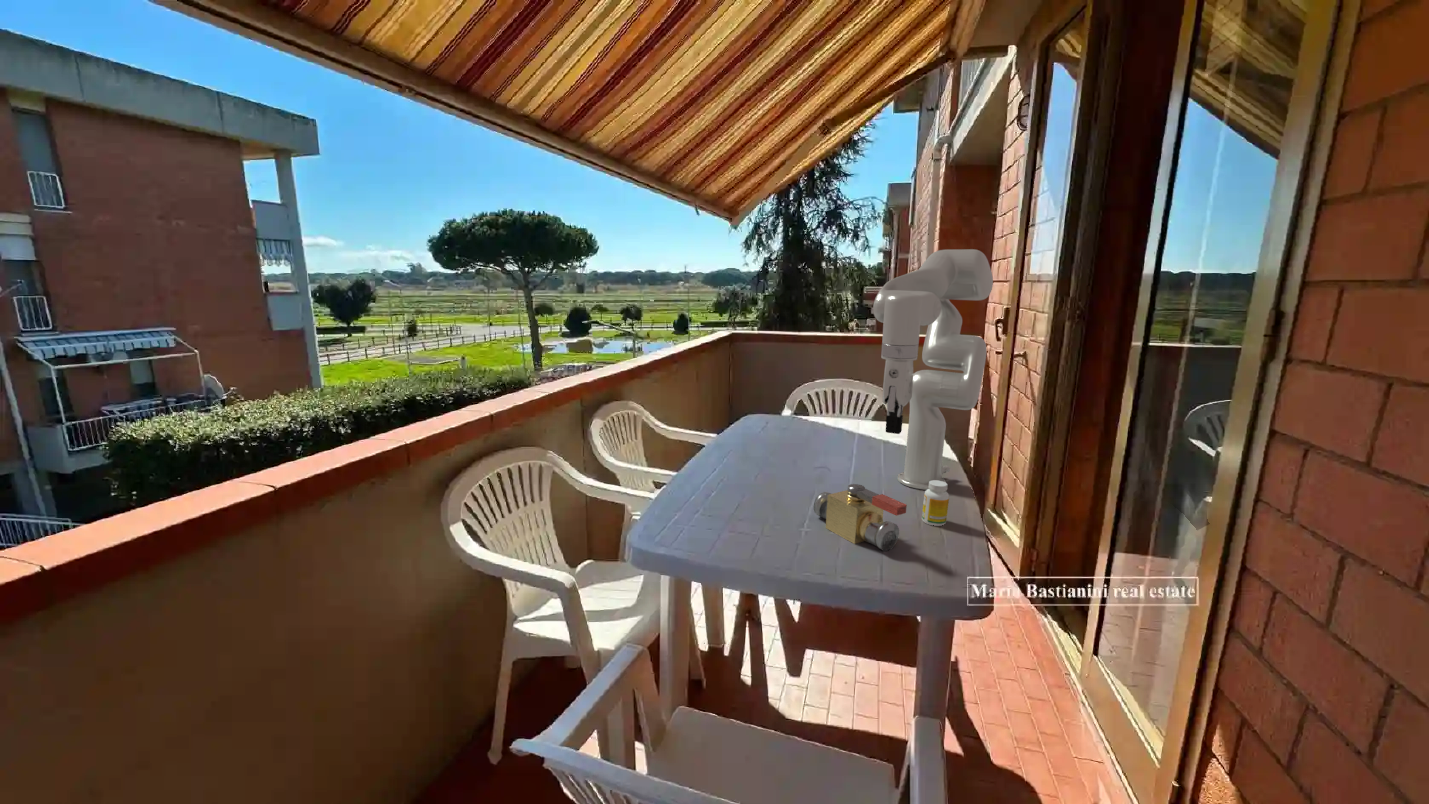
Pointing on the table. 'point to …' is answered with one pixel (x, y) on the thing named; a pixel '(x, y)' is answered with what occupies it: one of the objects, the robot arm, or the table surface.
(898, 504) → the lever
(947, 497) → the supplement bottle
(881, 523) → the valve
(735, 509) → the table surface
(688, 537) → the table surface
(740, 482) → the table surface
